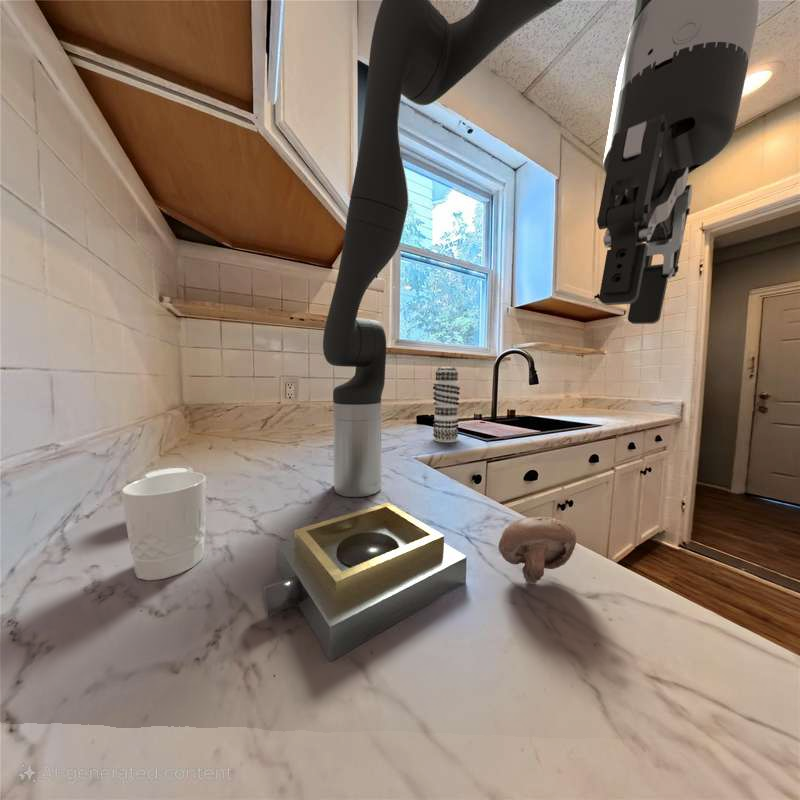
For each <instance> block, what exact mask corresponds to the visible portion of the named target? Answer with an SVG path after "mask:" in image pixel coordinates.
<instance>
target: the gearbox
mask: <svg viewBox="0 0 800 800" xmlns="http://www.w3.org/2000/svg"><path fill="white" fill-rule="evenodd" d="M275 544H276V545H275V546H276V569H277V570H278V572H279V574H280V575H281V577H282V580H280V581H277V582H274V583H272V584H269V585H267V586H264V587H263V588H262V601H263V602H262V603H263V607H264V610H265V614H266V616H267V617H269V616H272V615H275V614H276V613H280V612H281V611H283V610H287V609H288V608H290V607H292V606H295V605H298V607H299V609H300V611H301V612H302V614H303V616H304V618H305V619H306V621H307V624H308V625H309V626H310V628H311V631H312V632H313V634H314V636H315V638H316V639H317V641H318V643H319V644H320V646H321V648H322V649H323V652H324V653H325V655H326V657H327V659H328V661H329V662H330V663H331V662H333V661H335V660H336V659H338V658H340V657H341V656H343V655H345V654H347V653H349V652H350V651H352V650H353V649H355V648H357V647H358V646H360V645H362V644H364V643H365V642H368V641H369V640H371V639H372V638H375V637H376V636H377V635H379V634H381V633H382V632H383V631H386V630H388V629H390V628H391V627H392V626H394V625H396V624H397V623H400V622H401V621H403V620H405V619H406V618H408V617H410V616H411V615H413V614H415V613H417V612H418V611H420V610H421V609H423V608H425V607H428V606H429V605H431V603H434V602H436V601H438V600H439V599H440V598H442V597H444V596H446V595H447V594H449V593H451V592H453V591H454V590H456V589H457V588H459V587H461V586H462V585H465V584H466V583H467V561H468V560H467V558H468V557H467V556H466V555H465V554H463V553H461V552H460V551H458V550H456V549H455V548H453V547H452V546H450V545H449V544H447V543H446V542H445V535H443V534H442V533H440V532H439V531H438V530H435V529H433V528H432V527H430V526H428V525H427V524H425V523H424V522H423V521H420V520H419V519H416V518H415V517H413V516H411V515H410V514H408V513H406V512H405V511H403V510H402V509H400V508H398V507H396V506H395V505H393V504H392V503H390V502H384V503H382V504H378V505H375V506H372V507H368V508H365V509H361V510H358V511H354V512H351V513H346V514H345V515H341V516H338V515H330V517H328V518H327V519H326V520H325V521H324V520H323V521H321V522H318V523H314V524H310V525H307V526H303V527H300V528H297V529H294V536H293V537H292V538H289V539H286V540H282V541H280V542H276V543H275Z"/></svg>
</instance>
